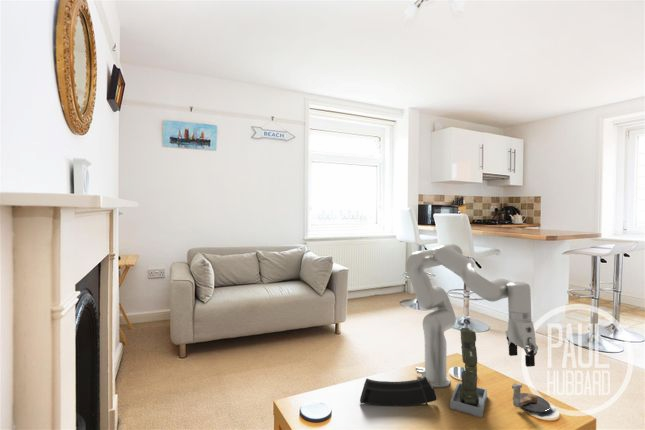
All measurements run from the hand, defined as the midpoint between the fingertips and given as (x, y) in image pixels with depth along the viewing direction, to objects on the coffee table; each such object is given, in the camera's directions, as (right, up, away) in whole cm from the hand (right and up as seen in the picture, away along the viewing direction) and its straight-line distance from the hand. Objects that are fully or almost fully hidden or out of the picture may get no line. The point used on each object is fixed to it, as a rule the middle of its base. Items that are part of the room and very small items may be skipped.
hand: (521, 360), depth 132 cm
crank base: (+9, -21, +9) cm, 25 cm away
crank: (+5, -20, +7) cm, 21 cm away
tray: (-15, -22, +10) cm, 28 cm away
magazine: (-44, -22, +10) cm, 51 cm away
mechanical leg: (-15, -21, +11) cm, 28 cm away
